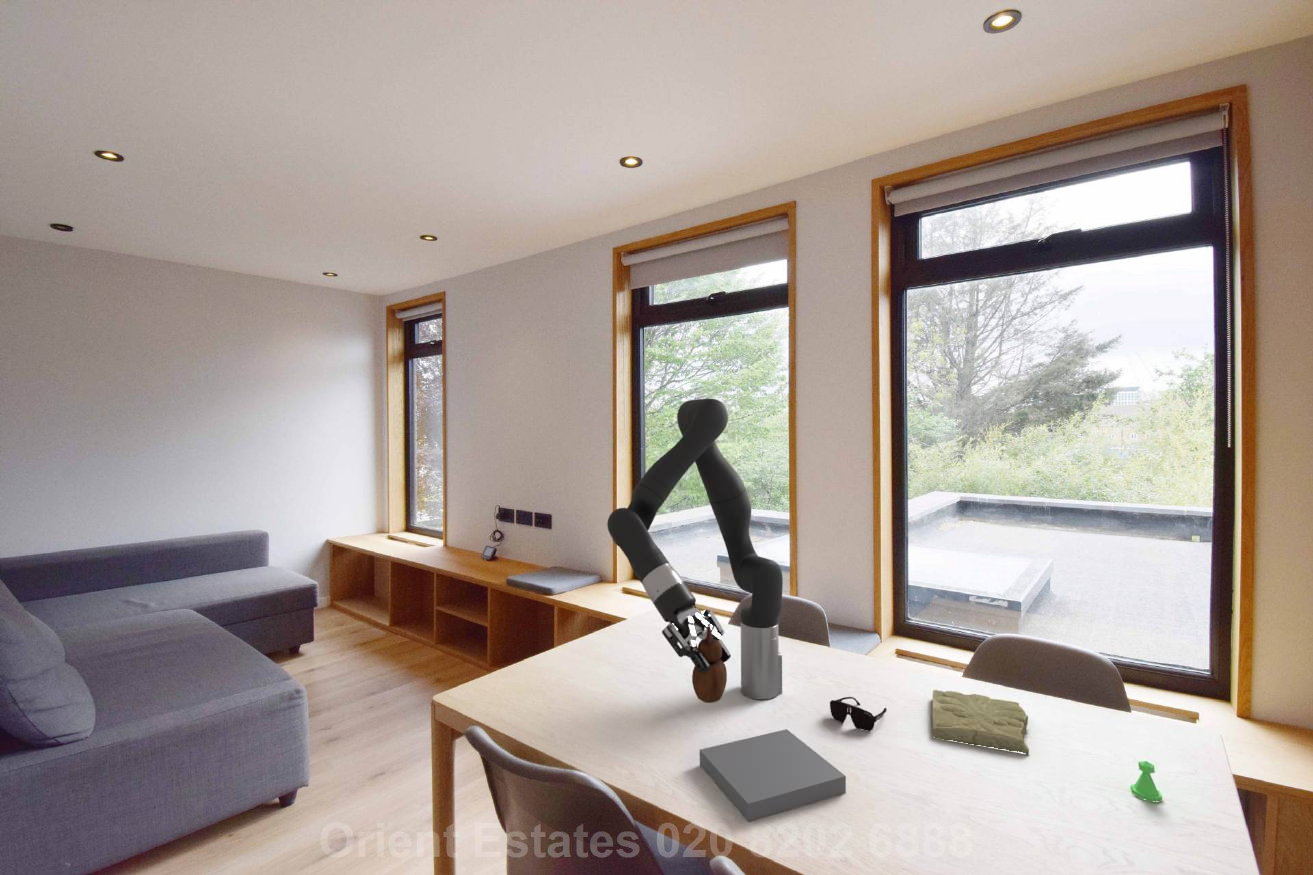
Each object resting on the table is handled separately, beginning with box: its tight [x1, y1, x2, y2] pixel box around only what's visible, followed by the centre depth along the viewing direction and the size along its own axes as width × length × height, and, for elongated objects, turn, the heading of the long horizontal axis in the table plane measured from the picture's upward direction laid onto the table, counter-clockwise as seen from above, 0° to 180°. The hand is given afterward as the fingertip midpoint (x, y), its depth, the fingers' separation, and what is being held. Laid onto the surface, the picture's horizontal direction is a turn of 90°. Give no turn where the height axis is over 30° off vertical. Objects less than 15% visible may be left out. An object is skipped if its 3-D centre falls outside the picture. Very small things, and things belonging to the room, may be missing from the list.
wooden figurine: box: [691, 624, 728, 704], centre depth 112 cm, size 7×6×15 cm
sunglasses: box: [829, 696, 887, 732], centre depth 132 cm, size 11×12×5 cm
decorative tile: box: [931, 689, 1030, 754], centre depth 128 cm, size 19×20×4 cm
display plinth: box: [699, 728, 847, 823], centre depth 109 cm, size 20×18×3 cm
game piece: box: [1130, 760, 1163, 803], centre depth 104 cm, size 4×4×6 cm
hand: (717, 664), depth 111 cm, fingers closed on wooden figurine, 6 cm apart
